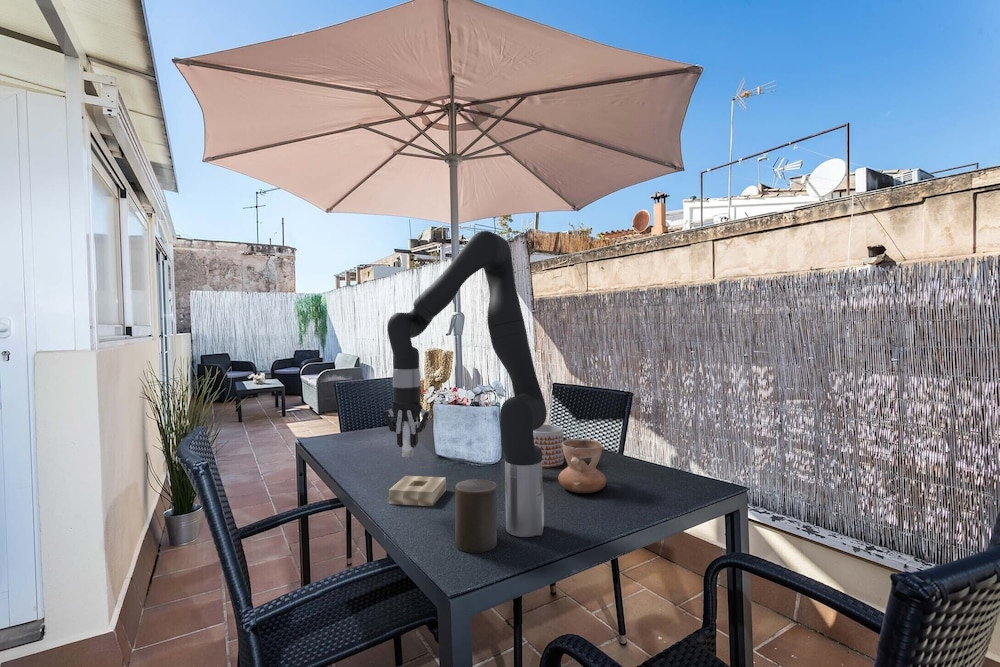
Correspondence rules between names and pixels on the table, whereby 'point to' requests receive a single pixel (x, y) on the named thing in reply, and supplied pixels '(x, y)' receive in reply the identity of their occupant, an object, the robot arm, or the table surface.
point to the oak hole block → (417, 490)
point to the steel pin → (406, 440)
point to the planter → (550, 444)
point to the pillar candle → (476, 515)
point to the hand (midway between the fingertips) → (407, 446)
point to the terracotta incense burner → (582, 466)
